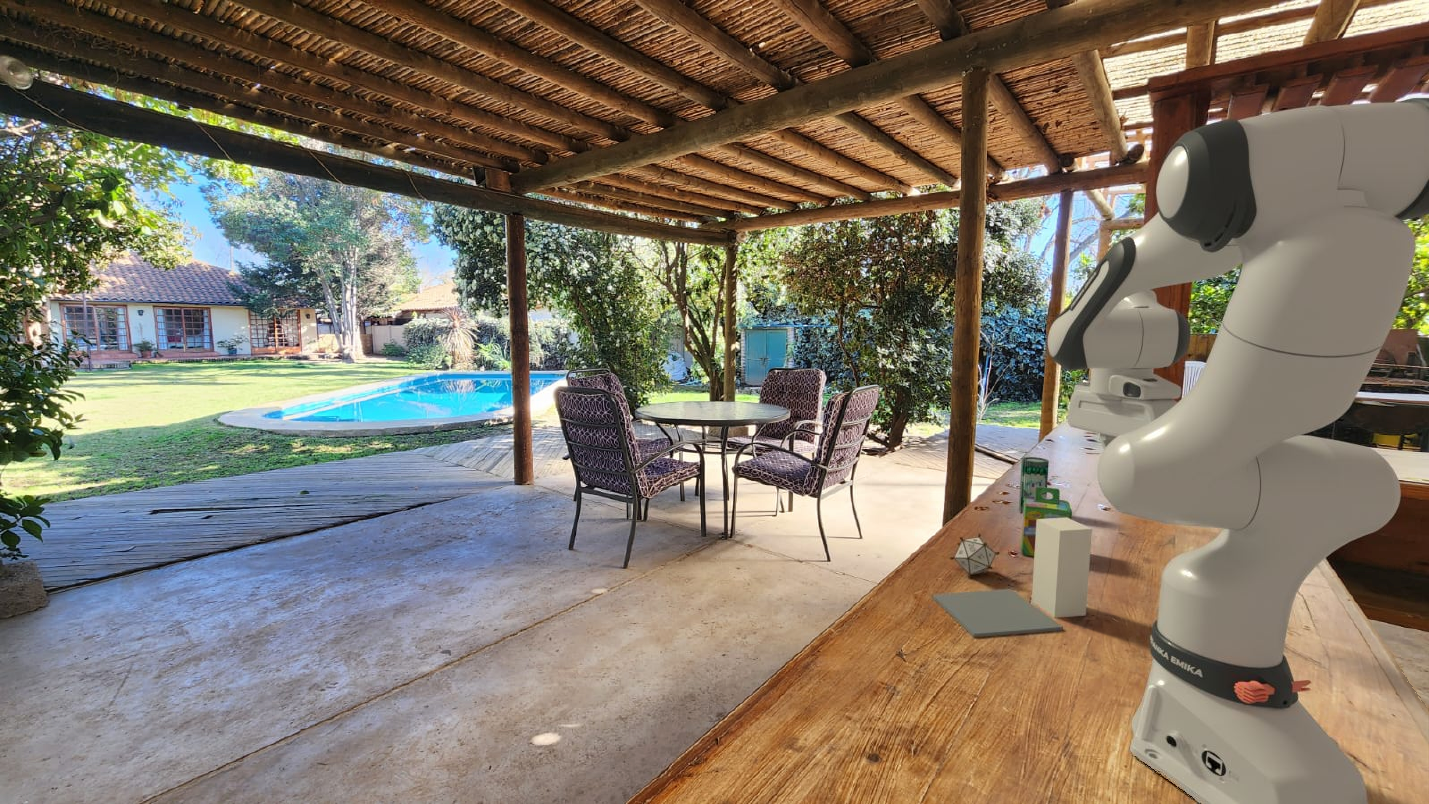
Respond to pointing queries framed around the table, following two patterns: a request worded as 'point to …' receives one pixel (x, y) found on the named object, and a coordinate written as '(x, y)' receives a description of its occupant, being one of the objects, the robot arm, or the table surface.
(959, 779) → the table surface
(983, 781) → the table surface
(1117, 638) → the table surface
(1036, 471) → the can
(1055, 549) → the cream block
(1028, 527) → the chalk box
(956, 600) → the rubber mat
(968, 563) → the game die
